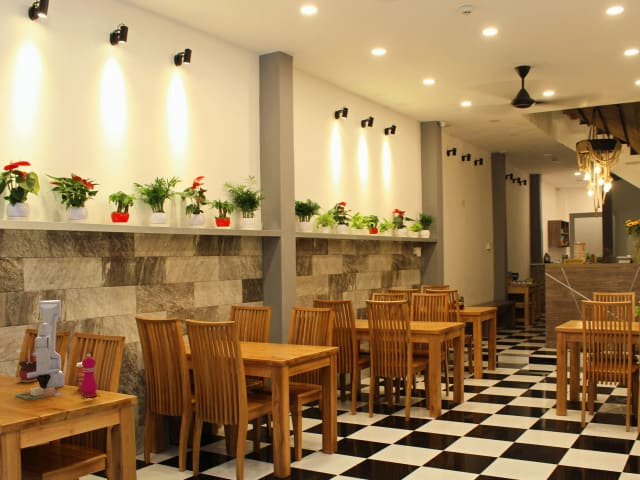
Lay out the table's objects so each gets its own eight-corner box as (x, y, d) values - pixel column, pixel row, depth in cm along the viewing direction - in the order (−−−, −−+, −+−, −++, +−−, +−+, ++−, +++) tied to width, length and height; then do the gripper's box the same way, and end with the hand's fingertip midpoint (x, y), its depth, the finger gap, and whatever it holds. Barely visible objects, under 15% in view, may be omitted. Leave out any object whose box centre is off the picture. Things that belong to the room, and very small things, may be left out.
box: (30, 397, 323) (30, 391, 323) (44, 400, 314) (44, 395, 314) (15, 399, 318) (15, 394, 318) (29, 403, 308) (29, 397, 308)
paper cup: (73, 392, 331) (72, 363, 332) (84, 390, 338) (83, 361, 339) (86, 393, 328) (85, 364, 329) (97, 390, 336) (96, 361, 336)
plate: (50, 394, 330) (50, 390, 330) (64, 397, 321) (64, 394, 321) (30, 397, 323) (30, 394, 323) (44, 400, 314) (44, 397, 314)
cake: (15, 382, 365) (14, 348, 366) (25, 379, 375) (24, 346, 375) (33, 382, 364) (33, 348, 364) (43, 379, 373) (43, 346, 373)
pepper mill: (101, 396, 321) (100, 352, 322) (91, 399, 314) (90, 355, 315) (88, 395, 324) (87, 352, 324) (77, 398, 317) (77, 354, 317)
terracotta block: (51, 393, 322) (51, 387, 322) (55, 394, 319) (55, 388, 319) (42, 395, 319) (42, 388, 319) (46, 396, 316) (46, 389, 316)
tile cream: (39, 393, 324) (39, 387, 324) (43, 394, 321) (42, 387, 321) (30, 394, 321) (30, 388, 321) (34, 395, 318) (34, 389, 318)
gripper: (31, 364, 316) (32, 394, 315) (61, 360, 327) (62, 389, 326) (24, 363, 321) (25, 392, 320) (54, 359, 331) (55, 388, 331)
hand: (43, 391), depth 323 cm, fingers closed
